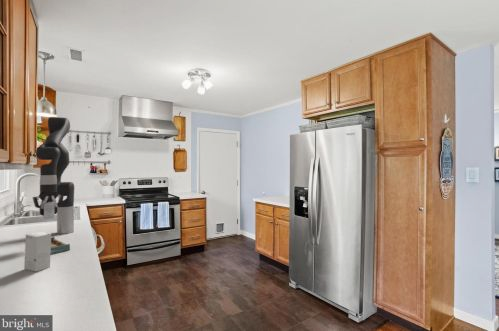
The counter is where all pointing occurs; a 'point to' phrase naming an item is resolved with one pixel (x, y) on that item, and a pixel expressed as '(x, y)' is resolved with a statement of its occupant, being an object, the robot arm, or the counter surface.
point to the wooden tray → (58, 246)
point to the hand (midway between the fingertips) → (48, 214)
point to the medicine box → (48, 210)
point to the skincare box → (37, 251)
